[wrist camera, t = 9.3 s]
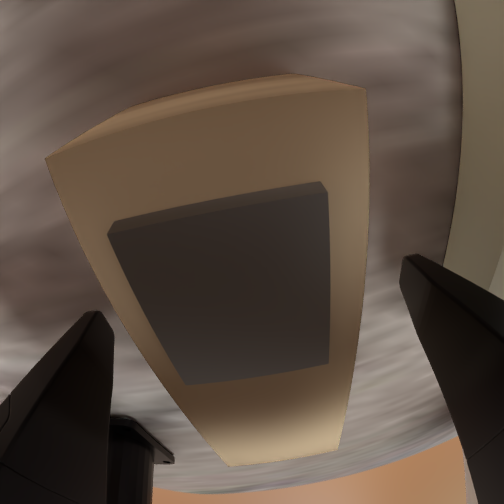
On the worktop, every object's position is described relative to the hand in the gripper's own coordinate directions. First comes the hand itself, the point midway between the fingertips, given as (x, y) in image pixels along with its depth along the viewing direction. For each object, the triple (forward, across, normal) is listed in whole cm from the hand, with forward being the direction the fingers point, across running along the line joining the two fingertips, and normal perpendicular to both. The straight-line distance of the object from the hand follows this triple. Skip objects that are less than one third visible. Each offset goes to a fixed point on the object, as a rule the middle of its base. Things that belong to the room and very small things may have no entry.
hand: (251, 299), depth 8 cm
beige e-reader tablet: (+1, 0, 0) cm, 1 cm away
